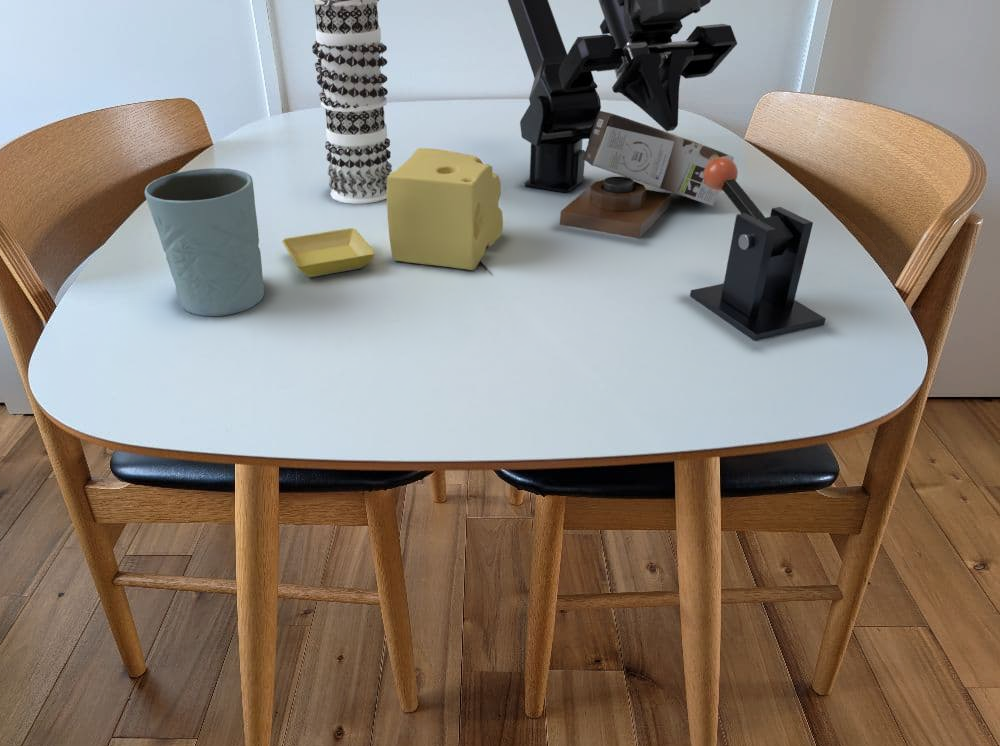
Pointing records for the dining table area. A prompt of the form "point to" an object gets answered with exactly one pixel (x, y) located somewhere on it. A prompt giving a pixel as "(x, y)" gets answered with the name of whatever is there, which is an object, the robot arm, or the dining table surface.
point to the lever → (743, 199)
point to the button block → (616, 210)
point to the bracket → (762, 280)
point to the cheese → (443, 209)
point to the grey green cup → (209, 238)
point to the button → (618, 185)
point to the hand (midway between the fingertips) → (672, 128)
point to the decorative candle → (353, 98)
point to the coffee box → (651, 156)
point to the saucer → (329, 252)
